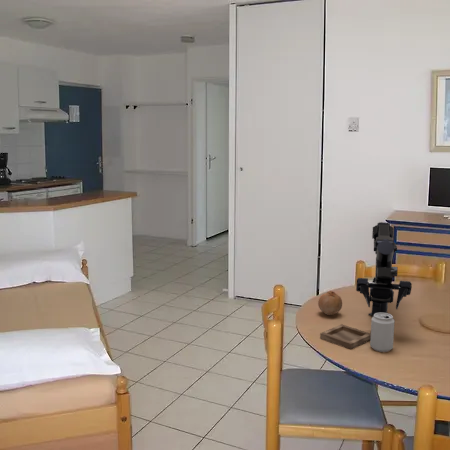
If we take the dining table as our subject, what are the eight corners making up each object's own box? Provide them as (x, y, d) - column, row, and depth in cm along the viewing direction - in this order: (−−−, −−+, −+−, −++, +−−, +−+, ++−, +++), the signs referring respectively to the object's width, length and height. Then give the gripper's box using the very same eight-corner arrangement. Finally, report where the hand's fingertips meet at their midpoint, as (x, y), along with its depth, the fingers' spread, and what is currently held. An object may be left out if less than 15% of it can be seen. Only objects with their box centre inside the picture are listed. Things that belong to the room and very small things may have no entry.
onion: (346, 317, 215) (347, 293, 214) (325, 320, 212) (326, 295, 210) (333, 309, 224) (334, 286, 222) (313, 312, 221) (314, 288, 219)
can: (393, 353, 181) (396, 319, 179) (370, 351, 183) (372, 318, 181) (391, 345, 189) (393, 312, 186) (369, 343, 190) (371, 310, 188)
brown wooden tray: (341, 329, 203) (341, 324, 202) (372, 339, 193) (372, 334, 193) (320, 338, 194) (320, 333, 194) (350, 349, 185) (351, 343, 184)
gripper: (357, 256, 194) (355, 294, 185) (412, 259, 189) (413, 299, 181) (357, 271, 203) (355, 309, 194) (409, 275, 198) (410, 314, 190)
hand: (382, 307), depth 189 cm, fingers open, 9 cm apart
